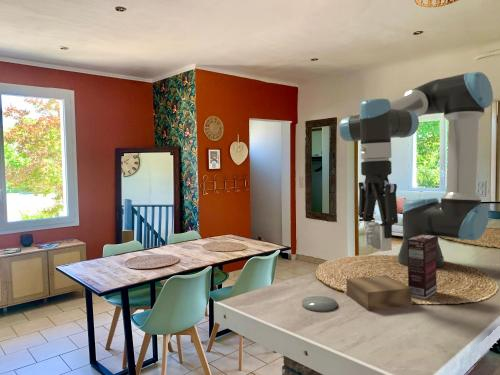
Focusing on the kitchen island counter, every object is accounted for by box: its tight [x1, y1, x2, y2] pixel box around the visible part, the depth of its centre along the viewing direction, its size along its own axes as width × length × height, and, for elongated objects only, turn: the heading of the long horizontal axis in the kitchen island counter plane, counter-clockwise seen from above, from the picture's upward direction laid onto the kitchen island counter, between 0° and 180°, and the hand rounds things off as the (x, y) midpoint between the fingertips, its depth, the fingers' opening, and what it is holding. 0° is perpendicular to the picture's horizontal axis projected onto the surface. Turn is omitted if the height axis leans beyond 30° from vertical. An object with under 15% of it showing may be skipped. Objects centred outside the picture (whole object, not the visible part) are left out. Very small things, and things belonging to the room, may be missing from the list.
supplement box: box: [407, 235, 438, 300], centre depth 105 cm, size 9×5×16 cm, turn 135°
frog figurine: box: [363, 221, 381, 250], centre depth 100 cm, size 6×7×7 cm
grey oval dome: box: [301, 295, 338, 313], centre depth 99 cm, size 9×9×1 cm
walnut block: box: [346, 274, 413, 312], centre depth 101 cm, size 12×12×5 cm
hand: (377, 247), depth 100 cm, fingers closed on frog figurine, 6 cm apart
